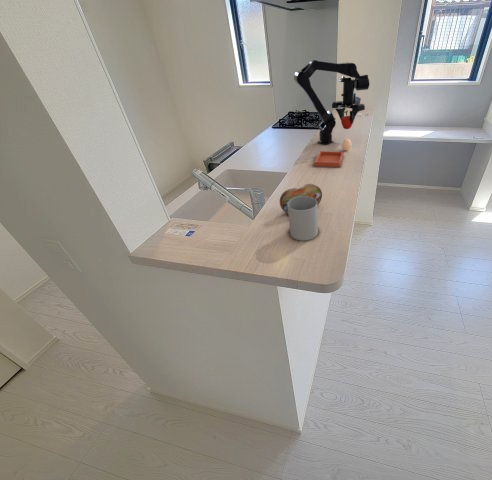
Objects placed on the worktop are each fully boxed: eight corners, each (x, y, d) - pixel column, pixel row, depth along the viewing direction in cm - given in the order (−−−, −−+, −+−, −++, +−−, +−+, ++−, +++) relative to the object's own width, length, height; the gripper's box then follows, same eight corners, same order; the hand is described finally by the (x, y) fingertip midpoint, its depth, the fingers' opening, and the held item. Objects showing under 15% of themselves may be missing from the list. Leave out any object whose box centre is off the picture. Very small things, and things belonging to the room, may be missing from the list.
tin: (283, 217, 88) (280, 194, 83) (279, 213, 90) (277, 190, 85) (322, 205, 93) (322, 183, 88) (318, 202, 96) (317, 180, 91)
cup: (318, 225, 83) (318, 196, 78) (317, 240, 77) (316, 210, 71) (292, 224, 84) (289, 196, 78) (288, 240, 78) (285, 210, 72)
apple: (340, 127, 154) (341, 108, 148) (352, 126, 153) (353, 107, 147) (341, 130, 148) (342, 111, 142) (353, 130, 147) (355, 110, 141)
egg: (342, 148, 142) (343, 137, 139) (352, 149, 141) (352, 137, 137) (340, 151, 139) (340, 139, 135) (349, 152, 137) (350, 140, 133)
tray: (320, 155, 135) (320, 151, 134) (343, 156, 133) (343, 151, 132) (314, 166, 124) (314, 161, 122) (339, 167, 121) (339, 162, 120)
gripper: (372, 90, 138) (369, 122, 147) (345, 88, 149) (343, 118, 159) (358, 93, 132) (356, 126, 141) (331, 90, 144) (331, 121, 153)
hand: (347, 123), depth 149 cm, fingers closed on apple, 6 cm apart
